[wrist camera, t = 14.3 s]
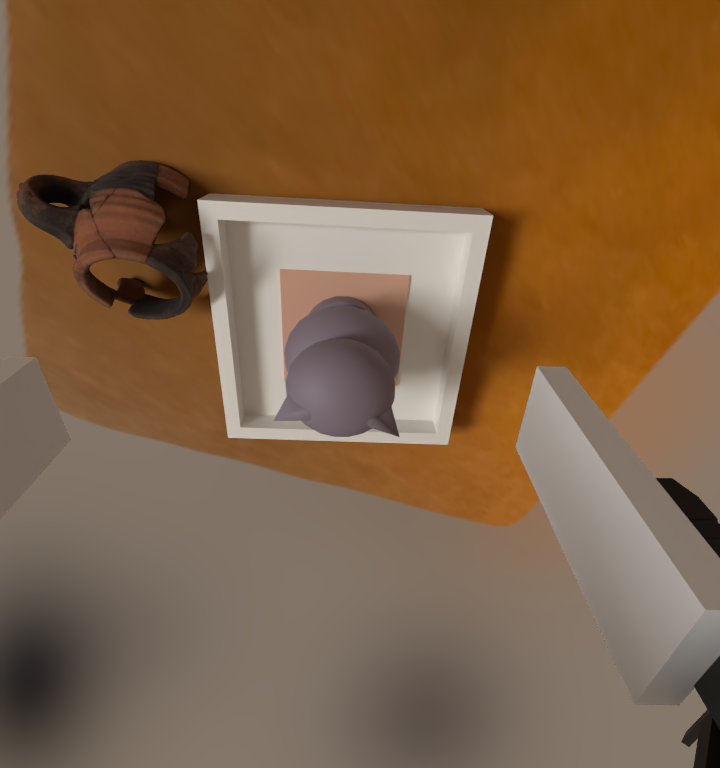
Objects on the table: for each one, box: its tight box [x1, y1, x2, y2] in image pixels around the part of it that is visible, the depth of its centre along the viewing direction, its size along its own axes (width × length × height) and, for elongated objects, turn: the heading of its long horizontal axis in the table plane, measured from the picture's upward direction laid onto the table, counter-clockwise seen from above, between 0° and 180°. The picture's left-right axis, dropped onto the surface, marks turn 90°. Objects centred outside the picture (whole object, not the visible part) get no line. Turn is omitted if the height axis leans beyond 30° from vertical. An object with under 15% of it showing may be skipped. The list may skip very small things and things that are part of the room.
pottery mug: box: [17, 160, 208, 320], centre depth 31 cm, size 12×10×8 cm
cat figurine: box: [273, 296, 400, 437], centre depth 31 cm, size 9×8×12 cm
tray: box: [197, 193, 493, 445], centre depth 36 cm, size 20×20×3 cm
